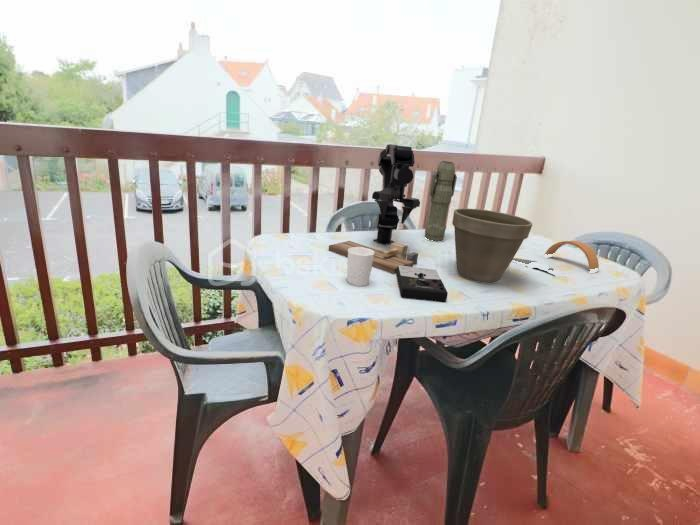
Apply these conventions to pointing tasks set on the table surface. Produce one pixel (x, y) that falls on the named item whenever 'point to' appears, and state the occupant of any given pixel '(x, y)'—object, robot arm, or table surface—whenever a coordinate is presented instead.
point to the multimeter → (420, 284)
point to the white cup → (359, 265)
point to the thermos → (440, 200)
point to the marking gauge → (397, 250)
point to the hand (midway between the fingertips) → (392, 220)
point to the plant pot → (487, 242)
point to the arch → (584, 247)
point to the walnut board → (377, 257)
